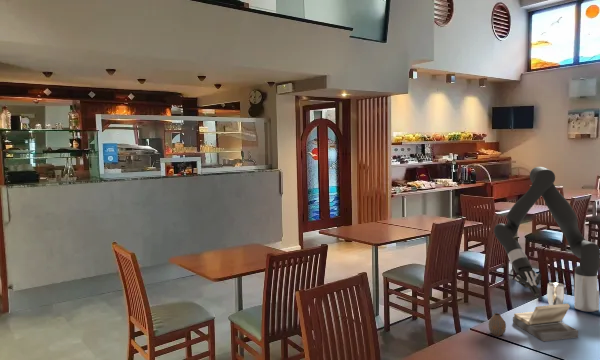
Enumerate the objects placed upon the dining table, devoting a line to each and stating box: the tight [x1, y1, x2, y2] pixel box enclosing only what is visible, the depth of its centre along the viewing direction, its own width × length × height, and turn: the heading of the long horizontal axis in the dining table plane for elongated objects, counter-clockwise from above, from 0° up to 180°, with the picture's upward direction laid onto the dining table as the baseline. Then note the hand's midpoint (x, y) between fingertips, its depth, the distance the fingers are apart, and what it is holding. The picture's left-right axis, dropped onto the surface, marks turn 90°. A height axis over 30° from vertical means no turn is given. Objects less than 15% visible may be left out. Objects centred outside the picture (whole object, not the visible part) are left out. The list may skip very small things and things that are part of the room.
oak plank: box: [529, 303, 571, 324], centre depth 195 cm, size 10×15×2 cm
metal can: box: [546, 282, 565, 305], centre depth 213 cm, size 7×7×15 cm
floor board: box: [512, 311, 579, 342], centre depth 198 cm, size 20×16×4 cm
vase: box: [488, 312, 507, 337], centre depth 196 cm, size 7×7×9 cm
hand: (536, 294), depth 202 cm, fingers closed
